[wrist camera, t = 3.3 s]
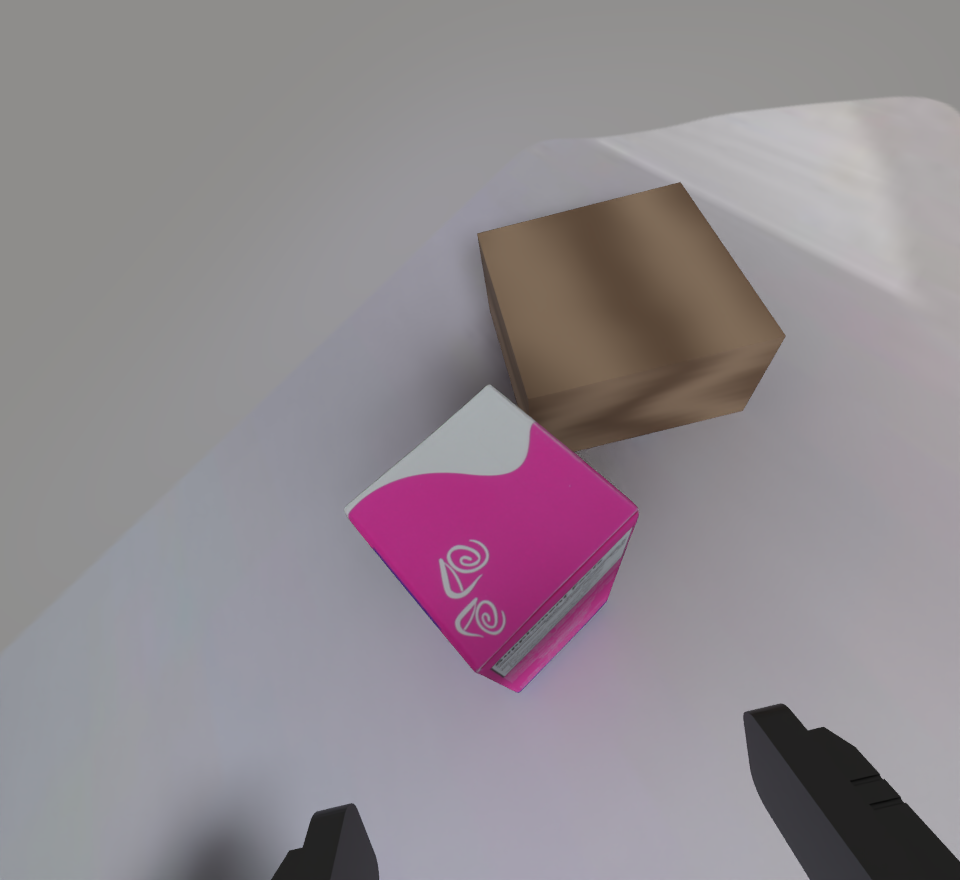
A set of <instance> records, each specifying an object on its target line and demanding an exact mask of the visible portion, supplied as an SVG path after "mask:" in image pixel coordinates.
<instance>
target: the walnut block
mask: <svg viewBox="0 0 960 880" xmlns="http://www.w3.org/2000/svg"><path fill="white" fill-rule="evenodd" d="M477 235H478V241H479V247H480V253H481V259H482V265H483V271H484V277H485V283H486V289H487V295H488V301H489V307H490V312H491V316H492V319H493V322H494V326H495V329H496V333H497V336H498V340H499V343H500V346H501V350H502V353H503V357H504V360H505V364H506V367H507V370H508V374H509V377H510V381H511V384H512V387H513V391H514V394H515V398H516V401H517V405H518V407H519V408H520V409H521V410H522V411H524V412H525V413H526V414H527V415H529V416H530V417H531V418H533V419H534V420H535V421H536V422H537V423H538V424H540V425H541V426H542V427H543V428H545V429H546V430H547V431H548V432H550V433H551V434H552V435H553V436H554V437H556V438H557V439H558V440H559V441H561V442H562V443H563V444H564V445H566V446H567V447H568V448H569V449H570V450H571V451H573V452H576V451H580V450H584V449H588V448H592V447H596V446H600V445H604V444H608V443H612V442H616V441H621V440H625V439H629V438H633V437H637V436H641V435H645V434H649V433H653V432H657V431H661V430H666V429H670V428H674V427H678V426H682V425H686V424H690V423H694V422H698V421H702V420H706V419H711V418H715V417H719V416H723V415H727V414H731V413H735V412H739V411H743V409H744V408H745V406H746V404H747V403H748V401H749V399H750V397H751V396H752V394H753V392H754V390H755V389H756V387H757V385H758V383H759V382H760V380H761V378H762V376H763V375H764V373H765V371H766V369H767V368H768V366H769V364H770V362H771V361H772V359H773V357H774V355H775V354H776V352H777V350H778V349H779V347H780V345H781V343H782V342H783V340H784V338H785V334H784V333H783V331H782V330H781V328H780V327H779V325H778V324H777V322H776V321H775V320H774V318H773V317H772V315H771V314H770V312H769V311H768V309H767V308H766V306H765V305H764V304H763V302H762V301H761V299H760V298H759V296H758V295H757V293H756V292H755V290H754V289H753V287H752V286H751V285H750V283H749V282H748V280H747V279H746V277H745V276H744V274H743V273H742V271H741V270H740V268H739V267H738V266H737V264H736V263H735V261H734V260H733V258H732V257H731V255H730V254H729V252H728V251H727V249H726V248H725V247H724V245H723V244H722V242H721V241H720V239H719V238H718V236H717V235H716V233H715V232H714V230H713V229H712V228H711V226H710V225H709V223H708V222H707V220H706V219H705V217H704V216H703V214H702V213H701V211H700V210H699V209H698V207H697V206H696V204H695V203H694V201H693V200H692V198H691V197H690V195H689V194H688V193H687V191H686V190H685V188H684V187H683V185H682V184H681V182H679V183H675V184H671V185H668V186H664V187H660V188H656V189H652V190H648V191H644V192H640V193H636V194H632V195H628V196H624V197H620V198H616V199H612V200H608V201H604V202H600V203H596V204H592V205H588V206H584V207H580V208H576V209H573V210H569V211H565V212H561V213H557V214H553V215H549V216H545V217H541V218H537V219H533V220H529V221H525V222H521V223H517V224H513V225H509V226H505V227H501V228H497V229H493V230H489V231H485V232H481V233H478V234H477Z"/></svg>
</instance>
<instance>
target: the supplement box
mask: <svg viewBox="0 0 960 880" xmlns="http://www.w3.org/2000/svg"><path fill="white" fill-rule="evenodd" d="M344 512H345V514H346V515H347V517H348V518H349V520H350V521H351V522H352V524H353V525H354V526H355V527H356V529H357V530H358V531H359V532H360V534H361V535H362V536H363V537H364V539H365V540H366V541H367V542H368V543H369V545H370V546H371V547H372V548H373V550H374V551H375V552H376V553H377V554H378V556H379V557H380V558H381V559H382V561H383V562H384V563H385V564H386V565H387V567H388V568H389V569H390V570H391V572H392V573H393V574H394V575H395V576H396V578H397V579H398V580H399V581H400V582H401V584H402V585H403V586H404V587H405V589H406V590H407V591H408V592H409V593H410V595H411V596H412V597H413V598H414V599H415V601H416V602H417V603H418V604H419V605H420V607H421V608H422V609H423V610H424V611H425V613H426V614H427V615H428V616H429V617H430V619H431V620H432V621H433V622H434V624H435V625H436V626H437V627H438V628H439V630H440V631H441V632H442V633H443V634H444V636H445V637H446V638H447V639H448V640H449V642H450V643H451V644H452V645H453V646H454V648H455V649H456V650H457V651H458V652H459V654H460V655H461V656H462V657H463V658H464V660H465V661H466V662H467V663H468V664H469V666H470V667H471V668H472V669H473V670H474V671H475V672H476V673H478V674H481V675H483V676H485V677H487V678H489V679H491V680H493V681H495V682H497V683H499V684H501V685H503V686H505V687H507V688H509V689H511V690H513V691H515V692H517V693H519V692H520V691H521V690H522V689H523V688H524V687H525V686H526V685H527V684H528V683H529V682H530V681H531V680H532V679H533V678H534V677H535V676H536V675H537V674H538V673H539V672H540V671H541V670H542V669H543V668H544V667H545V666H546V665H547V664H548V663H549V661H550V660H551V659H552V658H553V657H554V656H555V655H556V654H557V653H558V652H559V651H560V650H561V649H562V648H563V647H564V646H565V645H566V644H567V643H568V642H569V641H570V640H571V639H572V638H573V637H574V636H575V635H576V634H577V633H578V631H579V630H580V629H581V628H582V627H583V626H584V625H585V624H586V623H587V622H588V621H589V620H590V619H591V618H592V617H593V616H594V615H595V614H596V612H597V611H598V610H599V609H600V608H601V607H602V606H603V605H604V604H605V603H606V601H607V599H608V596H609V594H610V591H611V588H612V585H613V582H614V580H615V577H616V574H617V572H618V569H619V566H620V564H621V561H622V558H623V556H624V553H625V550H626V547H627V544H628V542H629V539H630V536H631V534H632V532H633V530H634V527H635V524H636V522H637V519H638V516H639V509H638V507H637V506H636V505H635V504H634V503H633V502H632V501H631V500H630V499H629V498H627V497H626V496H625V495H624V494H623V493H621V492H620V491H619V490H618V489H617V488H616V487H614V486H613V485H612V484H611V483H610V482H609V481H607V480H606V479H605V478H604V477H603V476H602V475H600V474H599V473H598V472H597V471H595V470H594V469H593V468H592V467H590V466H589V465H588V464H587V463H586V462H584V461H583V460H582V459H581V458H580V457H579V456H578V455H577V454H575V453H574V452H573V451H571V450H570V449H569V448H568V447H567V446H566V445H564V444H563V443H562V442H561V441H559V440H558V439H557V438H556V437H554V436H553V435H552V434H551V433H550V432H548V431H547V430H546V429H545V428H543V427H542V426H541V425H540V424H538V423H537V422H536V421H535V420H534V419H533V418H531V417H530V416H529V415H527V414H526V413H525V412H524V411H522V410H521V409H520V408H519V407H518V406H516V405H515V404H514V403H512V402H511V401H510V400H509V399H508V398H507V397H505V396H504V395H503V394H502V393H500V392H499V391H498V390H497V389H495V388H494V387H493V386H491V385H487V386H486V387H484V388H483V389H482V390H481V391H480V392H479V393H478V394H477V395H476V396H474V397H473V398H472V399H471V400H470V401H469V402H468V403H467V404H466V405H464V406H463V407H462V408H461V409H460V410H459V411H458V412H456V413H455V414H454V415H453V416H452V417H451V418H450V419H448V420H447V421H446V422H445V423H444V424H443V425H442V426H440V427H439V428H438V429H437V430H436V431H435V432H434V433H432V434H431V435H430V436H429V437H428V438H427V439H425V440H424V441H423V442H422V443H421V444H419V445H418V446H417V447H416V448H415V449H414V450H412V451H411V452H410V453H409V454H407V455H406V456H405V457H404V458H403V459H401V460H400V461H399V462H398V463H397V464H395V465H394V466H393V467H392V468H391V469H389V470H388V471H387V472H386V473H385V474H383V475H382V476H381V477H380V478H379V479H378V480H376V481H375V482H374V483H373V484H372V485H370V486H369V487H368V488H367V489H366V490H364V491H363V492H362V493H361V494H360V495H359V496H357V497H356V498H355V499H354V500H353V501H351V502H350V503H349V504H348V505H347V506H346V507H345V508H344Z"/></svg>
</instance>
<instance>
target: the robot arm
mask: <svg viewBox="0 0 960 880" xmlns="http://www.w3.org/2000/svg"><path fill="white" fill-rule="evenodd" d="M743 719H744V727H745V734H746V742H747V749H748V756H749V764H750V770H751V775H752V778H753V781H754V784H755V787H756V789H757V792H758V794H759V796H760V798H761V800H762V802H763V804H764V806H765V808H766V809H767V811H768V813H769V814H770V816H771V818H772V819H773V821H774V822H775V824H776V826H777V827H778V829H779V830H780V832H781V834H782V835H783V837H784V838H785V840H786V842H787V843H788V845H789V847H790V848H791V850H792V851H793V853H794V855H795V856H796V858H797V859H798V861H799V863H800V864H801V866H802V867H803V869H804V871H805V872H806V874H807V875H808V877H809V879H810V880H960V861H959V860H958V859H957V858H956V857H955V856H954V855H953V854H952V853H951V851H950V850H949V849H948V848H947V847H946V846H945V845H944V844H943V843H942V842H941V841H940V839H939V838H938V837H937V836H936V835H935V834H934V833H933V832H932V831H931V830H930V828H929V827H928V826H927V825H926V824H925V823H924V822H923V821H922V820H921V819H920V818H919V816H918V815H917V814H916V813H915V812H914V811H913V810H912V809H911V808H910V807H909V805H908V804H907V803H904V802H903V801H902V800H901V797H900V796H899V795H898V793H897V792H896V791H895V790H894V789H893V788H892V787H891V786H890V785H889V784H888V782H887V781H886V780H885V779H882V778H881V776H880V774H879V773H878V772H877V770H876V769H875V768H874V767H873V766H872V765H871V764H870V763H869V762H868V761H867V759H866V758H865V757H864V756H863V755H862V754H861V753H860V752H859V751H858V750H857V749H856V747H854V746H853V745H851V744H850V743H848V742H847V741H845V740H843V739H842V738H840V737H839V736H837V735H836V734H834V733H833V732H831V731H829V730H828V729H826V728H825V727H821V728H817V729H812V730H807V729H806V728H805V727H804V726H803V724H802V723H801V722H800V721H799V720H798V718H797V717H796V716H795V715H794V714H793V712H792V711H791V710H790V709H789V708H788V707H787V706H786V705H784V704H777V705H772V706H768V707H764V708H760V709H755V710H751V711H747V712H745V713H744V715H743ZM271 880H379V871H378V864H377V859H376V856H375V853H374V850H373V848H372V845H371V843H370V840H369V838H368V835H367V833H366V830H365V828H364V825H363V822H362V820H361V817H360V815H359V812H358V810H357V808H356V806H355V805H354V804H352V803H351V804H347V805H343V806H338V807H334V808H330V809H326V810H321V811H317V812H316V813H314V815H313V816H312V819H311V821H310V824H309V828H308V831H307V835H306V838H305V842H304V845H303V848H299V849H295V850H290V851H289V852H288V854H287V855H286V857H285V859H284V860H283V862H282V863H281V865H280V866H279V868H278V870H277V871H276V873H275V874H274V876H273V878H272V879H271Z"/></svg>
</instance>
